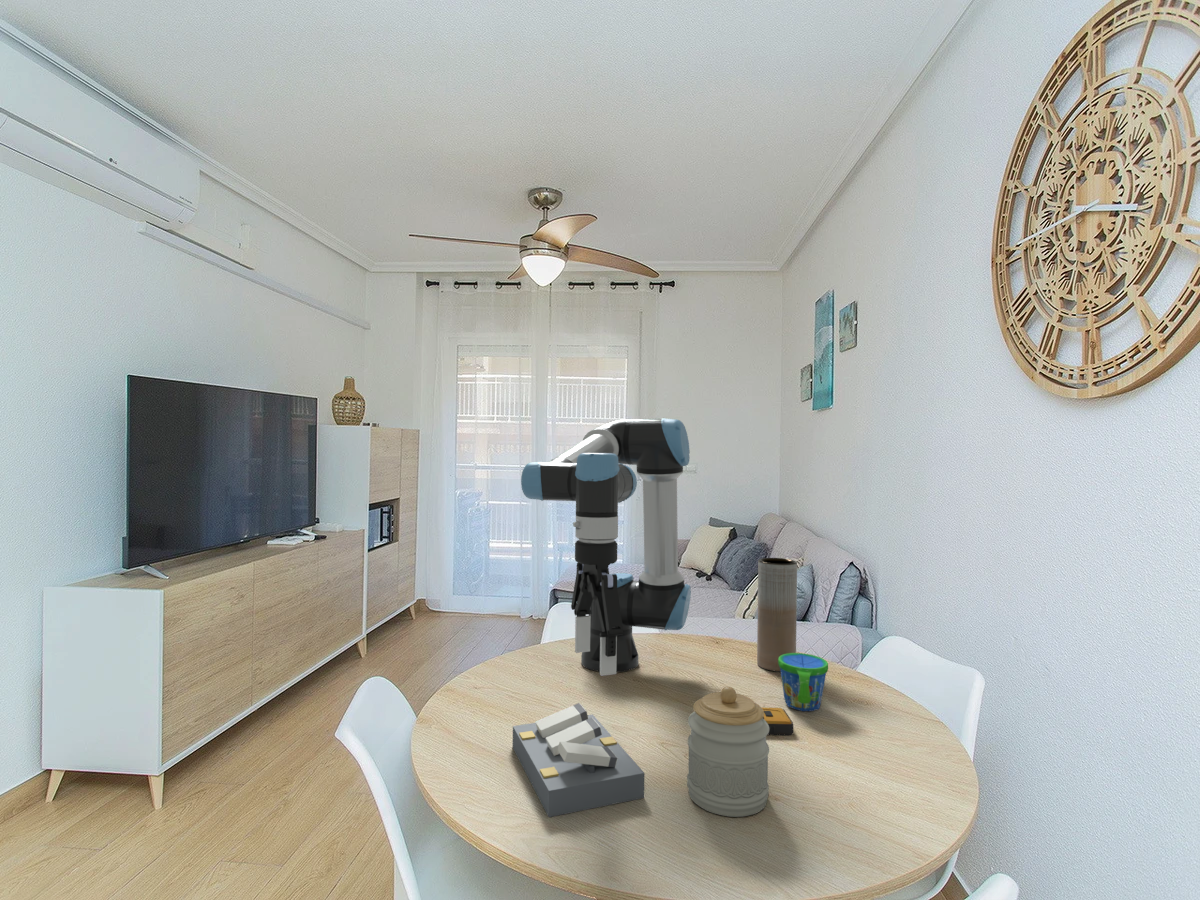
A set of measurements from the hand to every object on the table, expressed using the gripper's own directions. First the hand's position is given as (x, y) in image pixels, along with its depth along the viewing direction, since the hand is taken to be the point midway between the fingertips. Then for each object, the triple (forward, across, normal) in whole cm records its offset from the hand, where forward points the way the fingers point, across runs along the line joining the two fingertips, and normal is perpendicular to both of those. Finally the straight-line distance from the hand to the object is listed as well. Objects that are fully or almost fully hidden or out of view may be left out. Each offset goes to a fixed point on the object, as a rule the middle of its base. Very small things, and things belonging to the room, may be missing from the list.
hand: (594, 662), depth 110 cm
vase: (+19, -34, +64) cm, 75 cm away
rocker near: (+12, +7, -4) cm, 15 cm away
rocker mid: (+12, 0, -4) cm, 13 cm away
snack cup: (+19, -10, +53) cm, 57 cm away
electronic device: (+19, -5, +36) cm, 41 cm away
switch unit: (+18, 0, -4) cm, 19 cm away
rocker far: (+12, -7, -4) cm, 15 cm away
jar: (+19, +16, +17) cm, 30 cm away
